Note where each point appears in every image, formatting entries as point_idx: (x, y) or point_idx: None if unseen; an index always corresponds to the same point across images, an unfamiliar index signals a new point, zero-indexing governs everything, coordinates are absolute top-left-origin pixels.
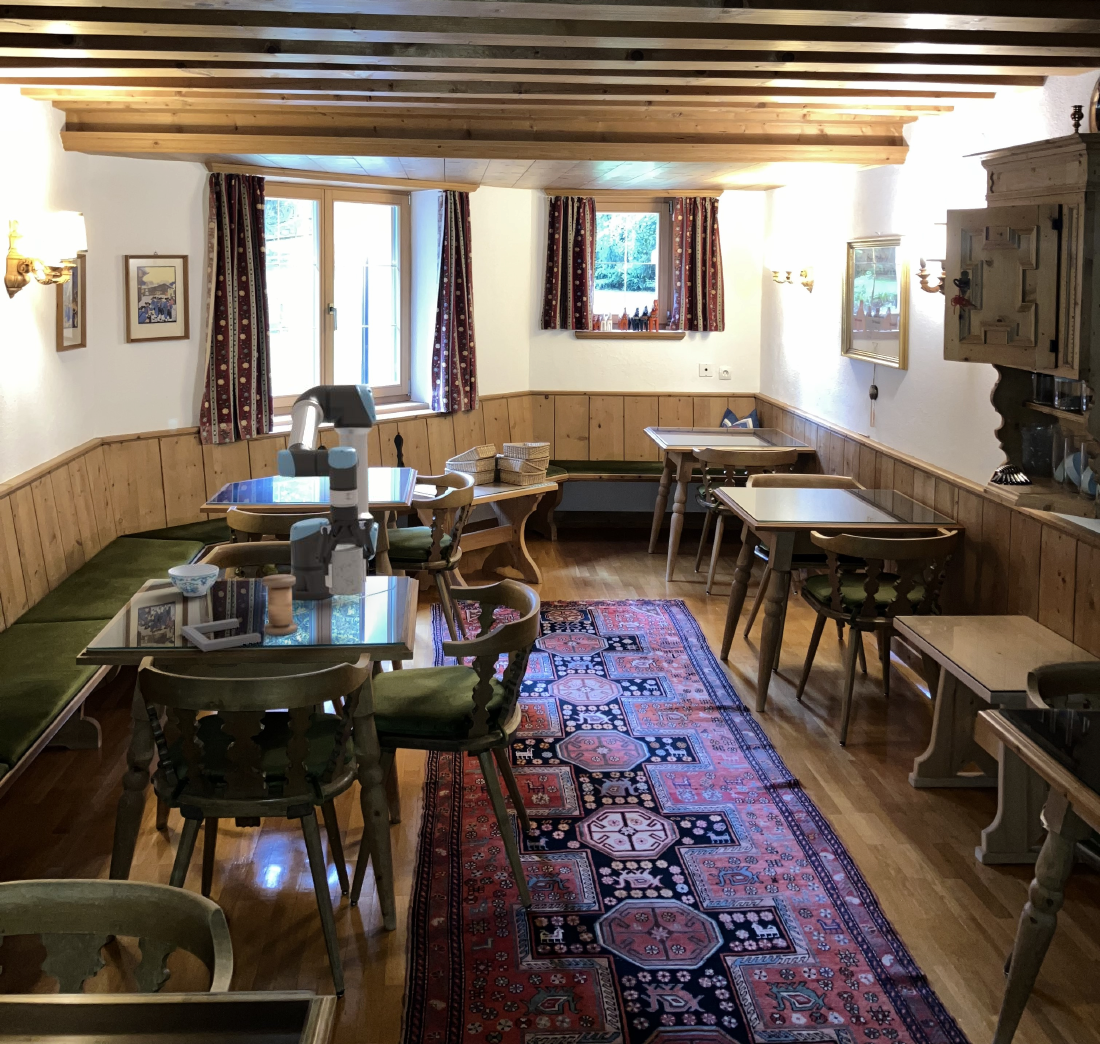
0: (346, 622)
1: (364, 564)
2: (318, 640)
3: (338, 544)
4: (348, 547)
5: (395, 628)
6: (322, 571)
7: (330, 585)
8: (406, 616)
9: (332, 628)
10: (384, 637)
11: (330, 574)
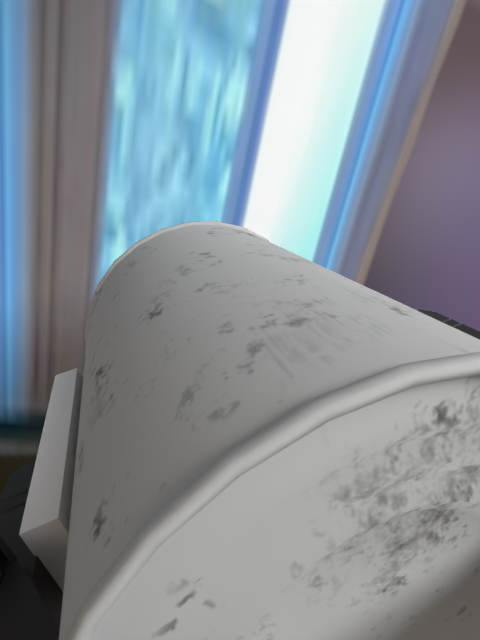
0: (180, 139)
1: None
2: (35, 371)
3: (372, 401)
4: (449, 558)
5: None
6: (2, 501)
7: None
8: (412, 140)
9: (106, 217)
10: None
11: None
